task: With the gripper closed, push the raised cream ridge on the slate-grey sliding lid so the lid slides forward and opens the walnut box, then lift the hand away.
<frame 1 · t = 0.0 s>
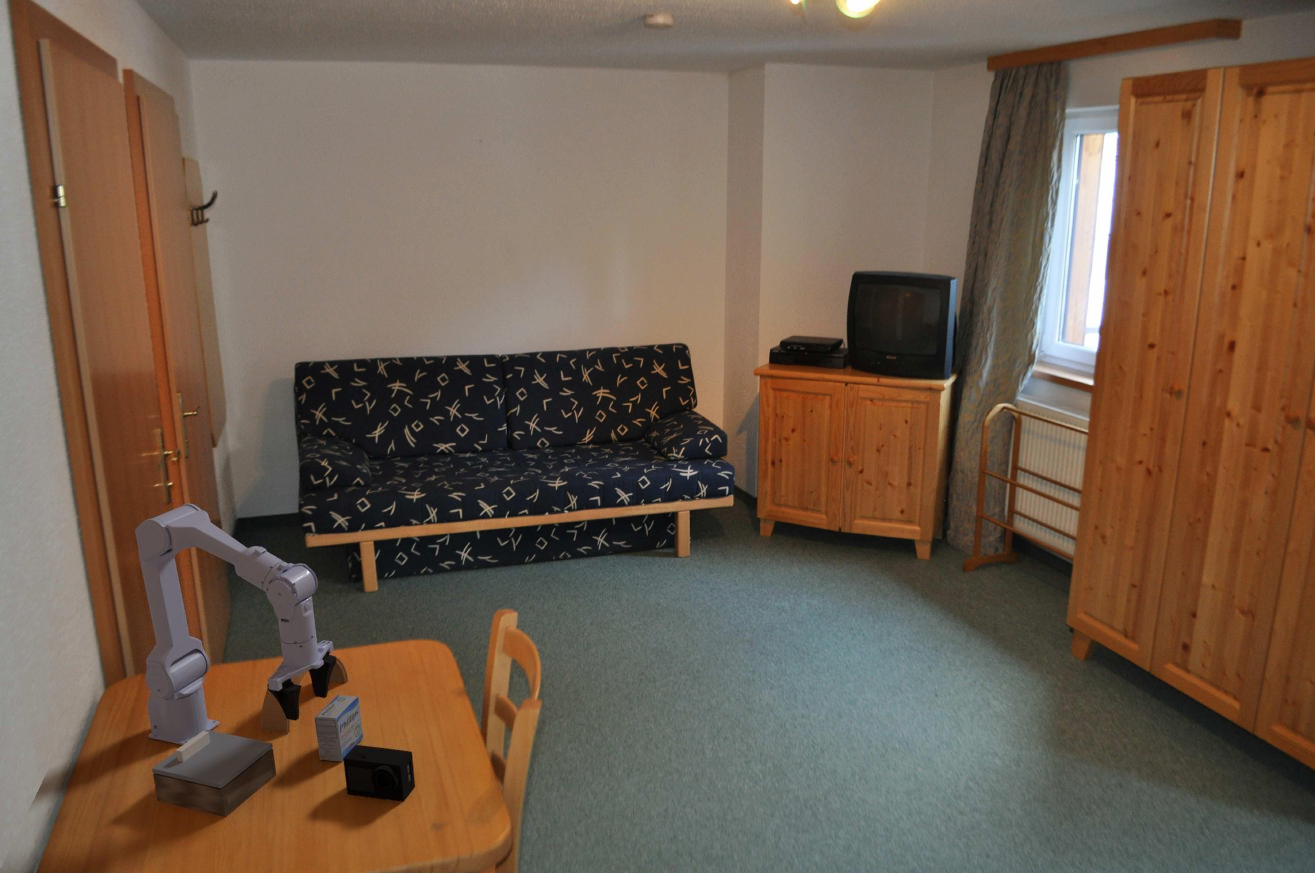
hand: (307, 707, 169), 10 cm above the table, tool pointing down, fingers open, 7 cm apart
digital camera: (379, 794, 162), on the table
box: (218, 787, 164), on the table
medicine box: (341, 749, 174), on the table
lid: (212, 752, 162), point 7 cm above the table, slide at 0.0 cm
arch: (307, 705, 189), on the table
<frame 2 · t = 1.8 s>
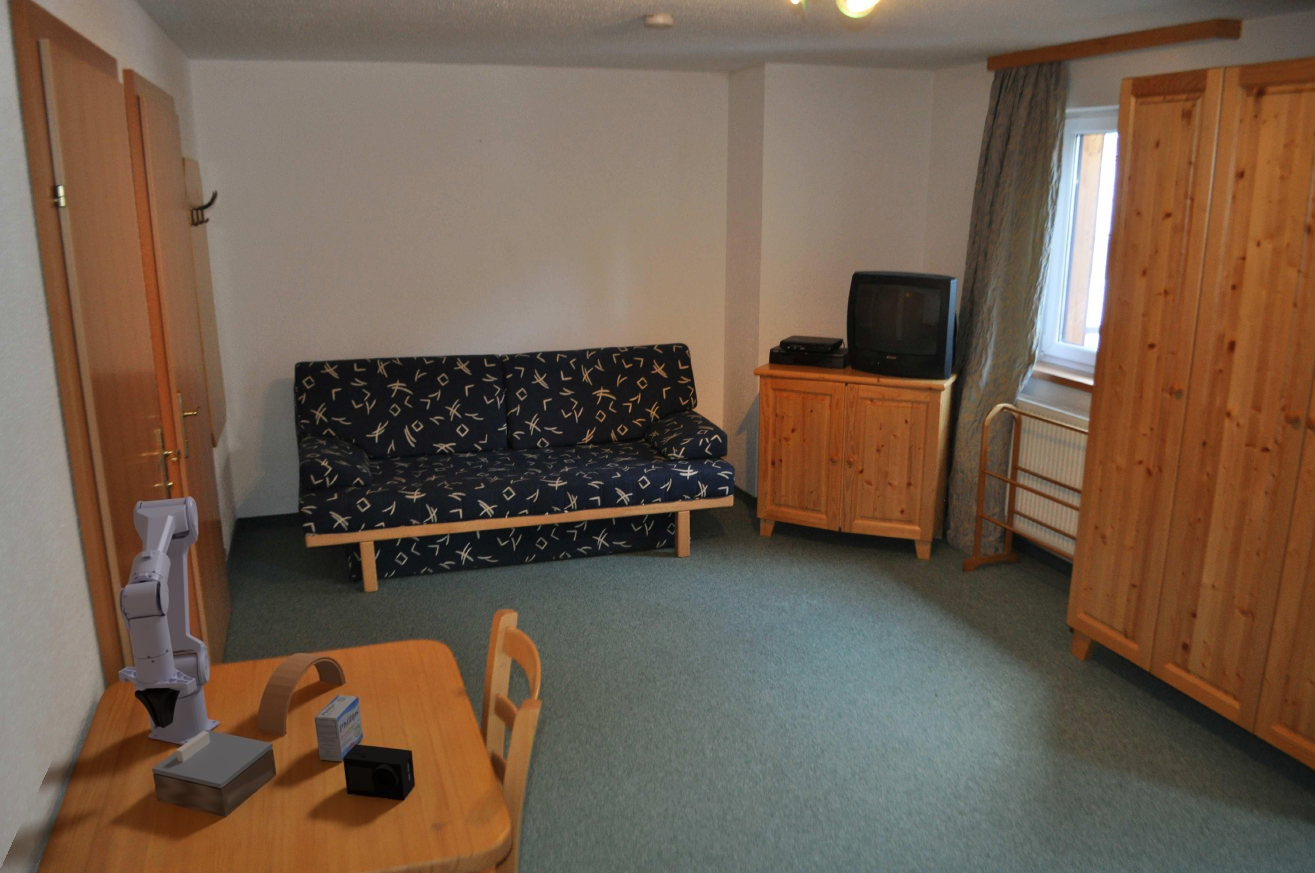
hand: (164, 724, 164), 10 cm above the table, tool pointing down, fingers closed
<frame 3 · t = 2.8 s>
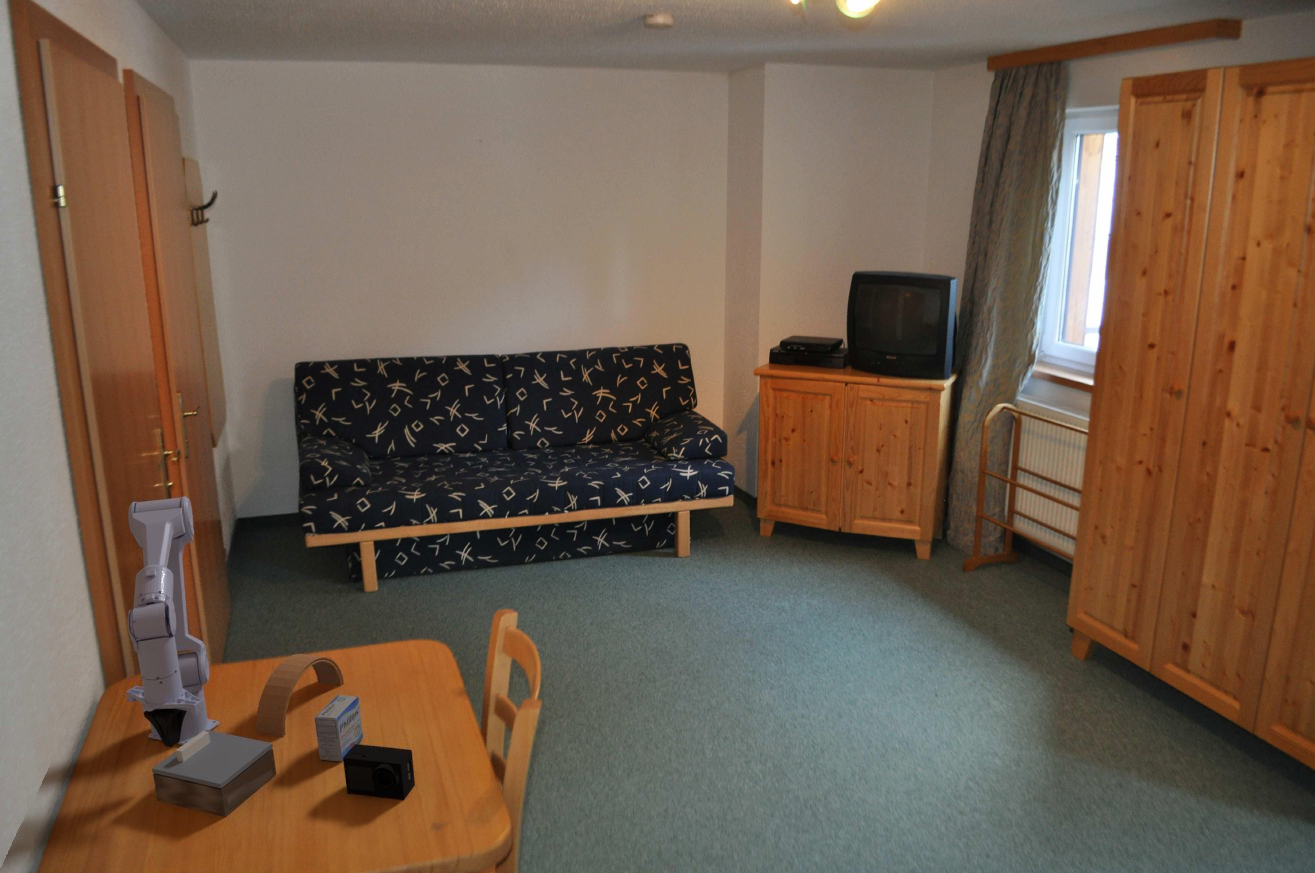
hand: (172, 743, 165), 7 cm above the table, tool pointing down, fingers closed
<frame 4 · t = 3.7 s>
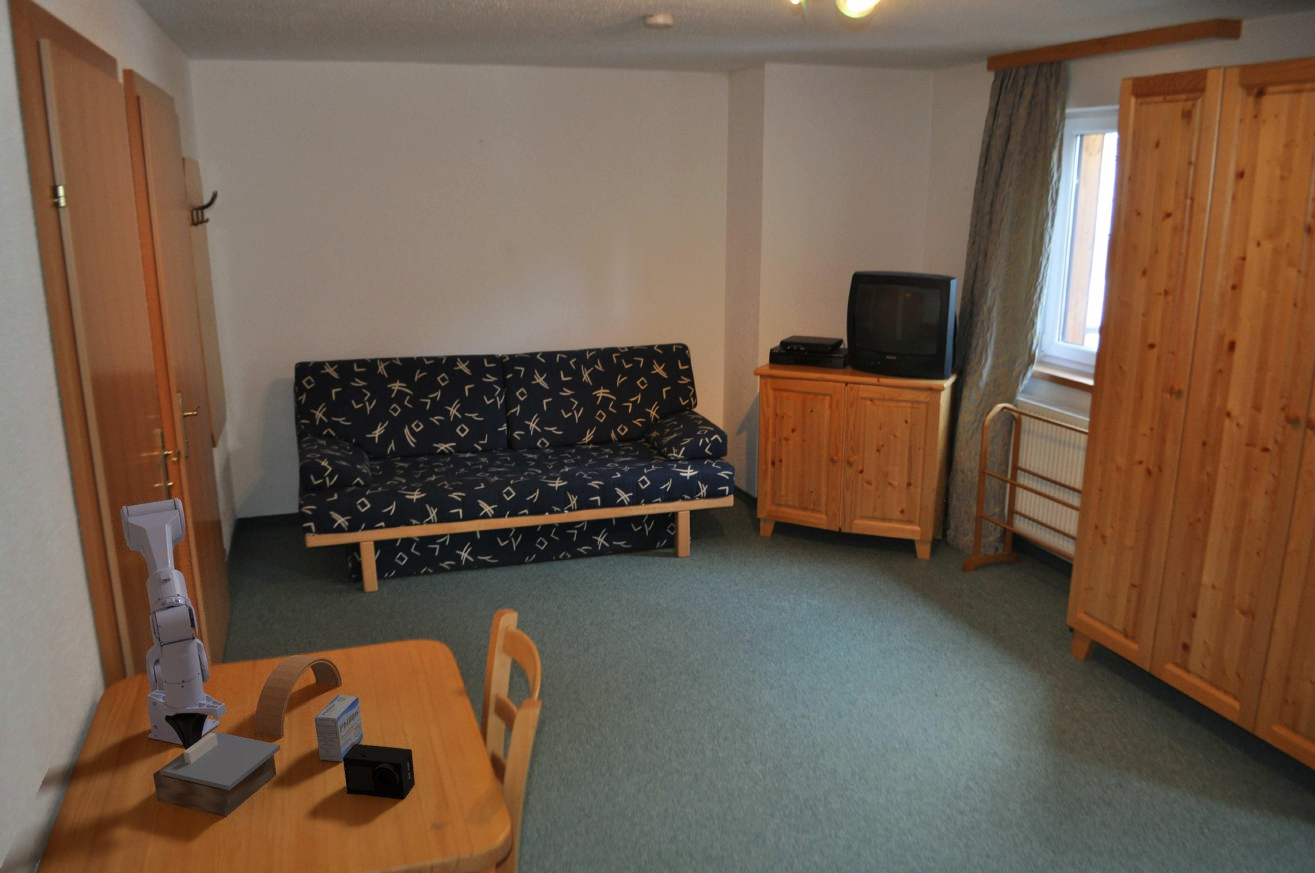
hand: (193, 748, 163), 7 cm above the table, tool pointing down, fingers closed
lid: (220, 753, 162), point 7 cm above the table, slide at 1.6 cm, touching gripper
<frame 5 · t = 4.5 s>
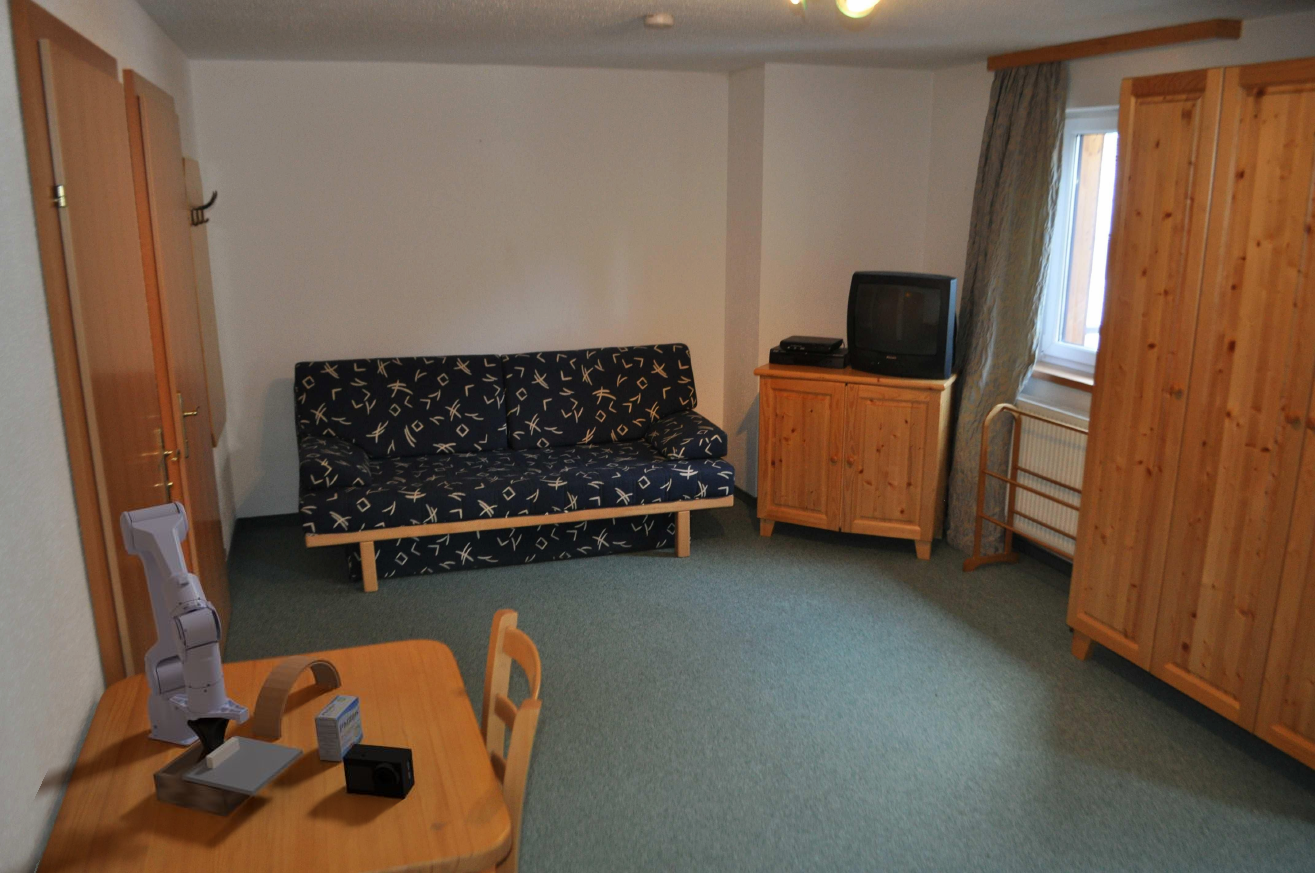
hand: (215, 752, 162), 7 cm above the table, tool pointing down, fingers closed
lid: (242, 758, 160), point 7 cm above the table, slide at 6.2 cm, touching gripper
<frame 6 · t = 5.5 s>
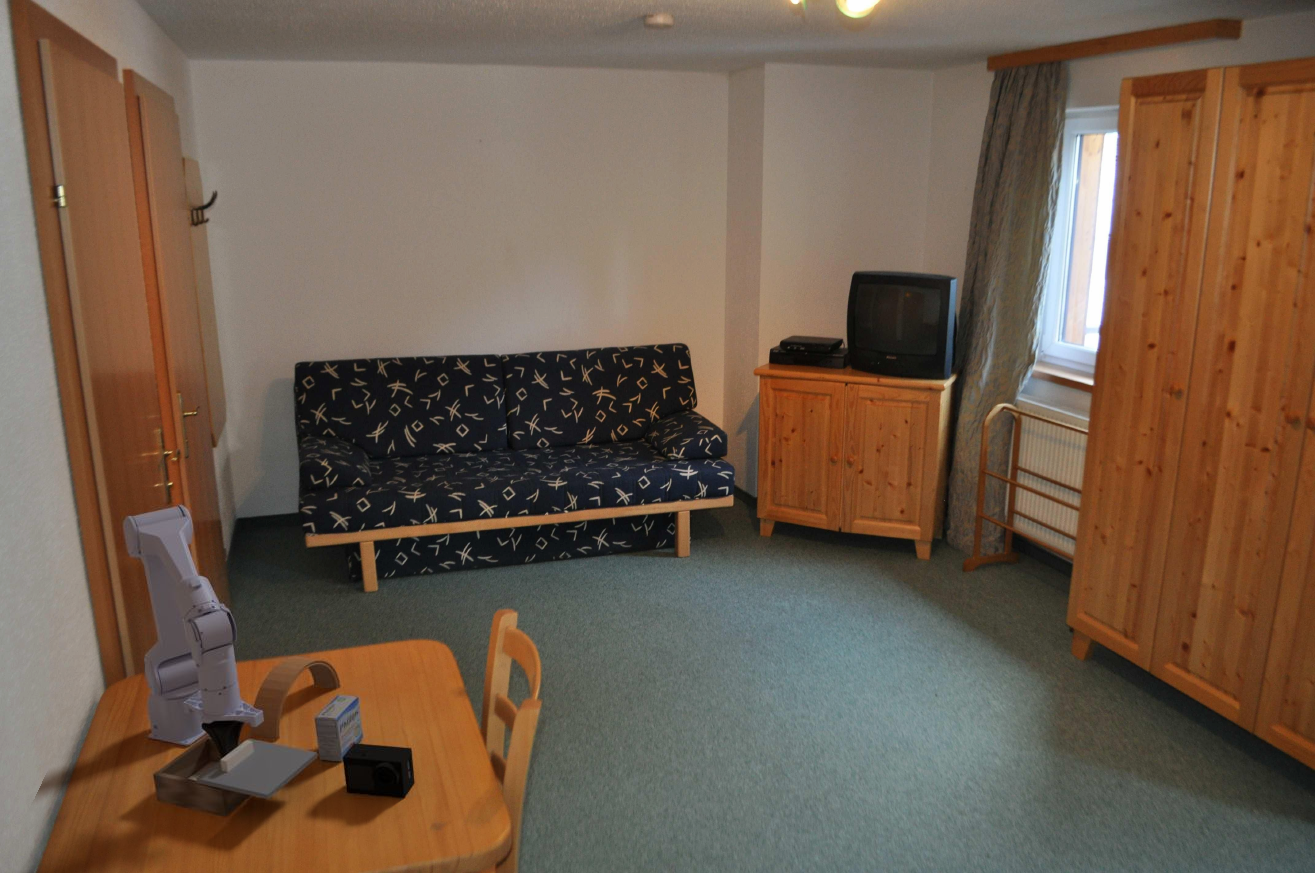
hand: (229, 755, 161), 7 cm above the table, tool pointing down, fingers closed
lid: (257, 761, 159), point 7 cm above the table, slide at 9.1 cm, touching gripper
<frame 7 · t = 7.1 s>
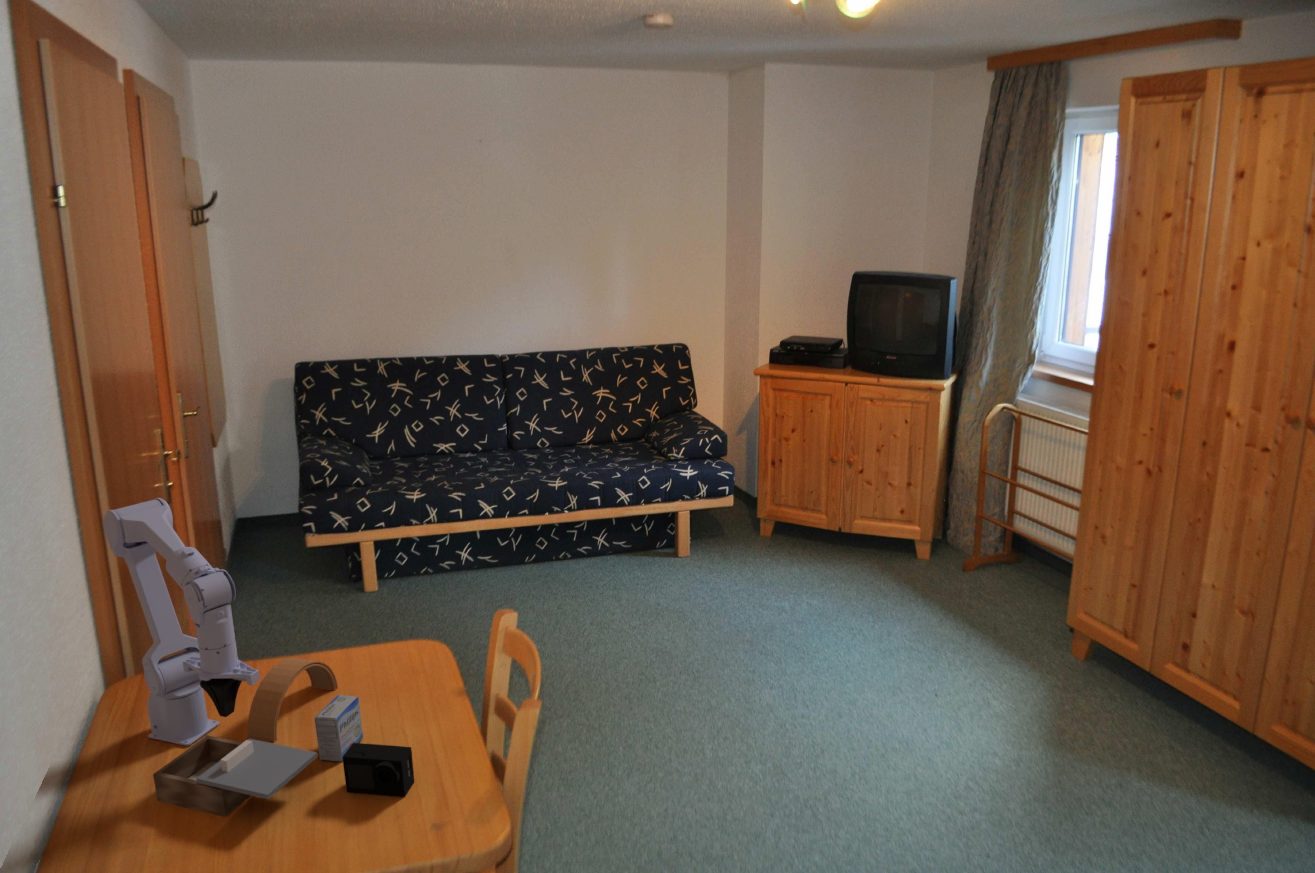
hand: (227, 713, 167), 10 cm above the table, tool pointing down, fingers closed
lid: (257, 761, 159), point 7 cm above the table, slide at 9.1 cm
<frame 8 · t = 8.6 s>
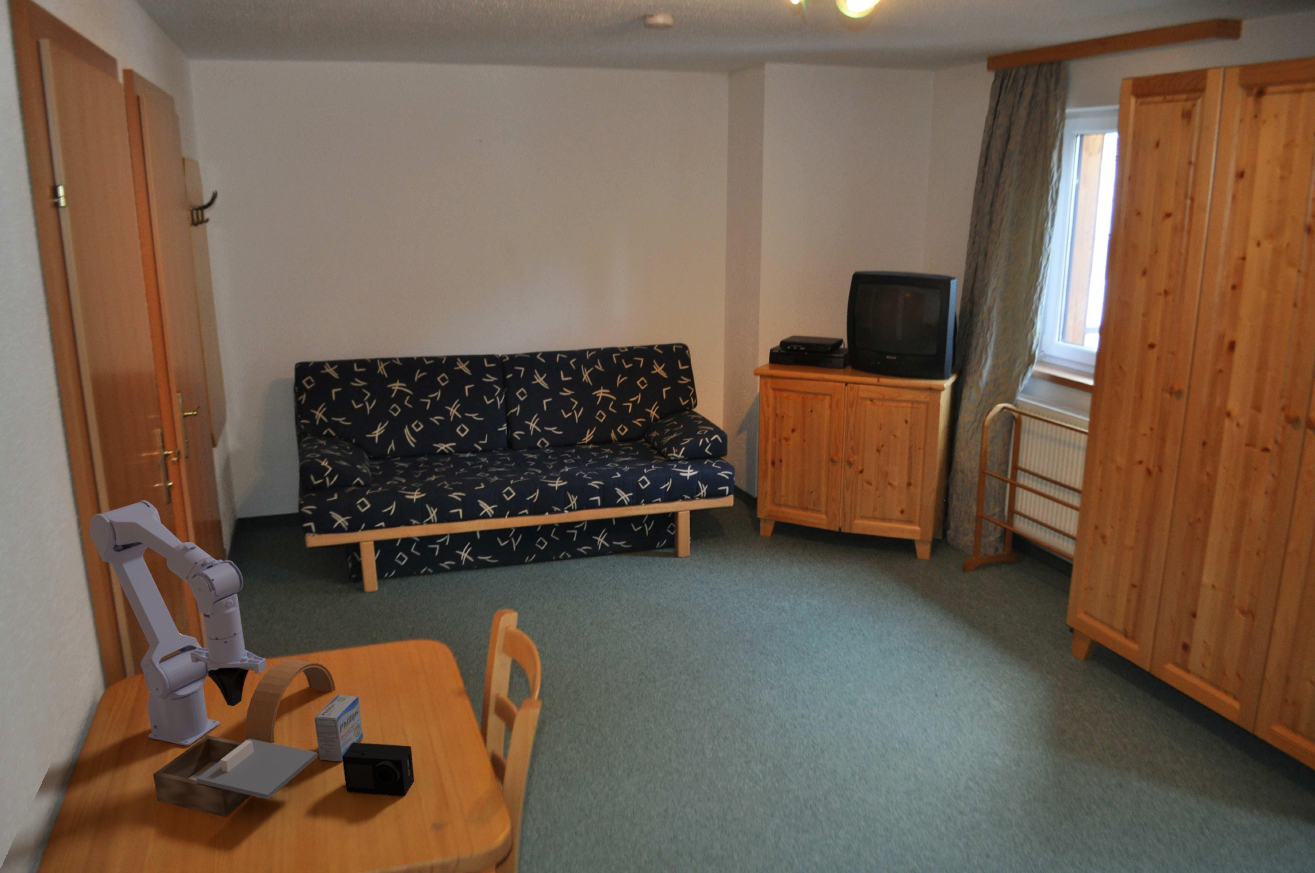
hand: (234, 702, 170), 10 cm above the table, tool pointing down, fingers closed
at the end: lid slide at 9.1 cm; medicine box moved 0.3 cm from its start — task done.
